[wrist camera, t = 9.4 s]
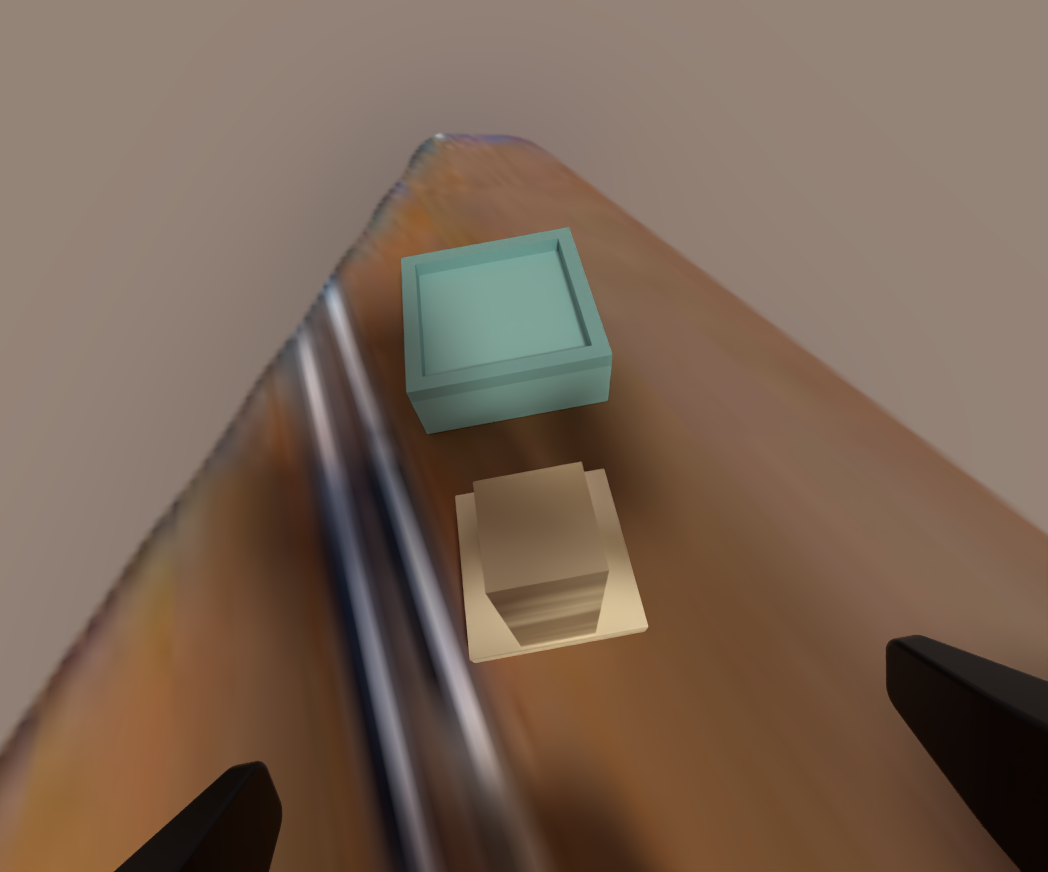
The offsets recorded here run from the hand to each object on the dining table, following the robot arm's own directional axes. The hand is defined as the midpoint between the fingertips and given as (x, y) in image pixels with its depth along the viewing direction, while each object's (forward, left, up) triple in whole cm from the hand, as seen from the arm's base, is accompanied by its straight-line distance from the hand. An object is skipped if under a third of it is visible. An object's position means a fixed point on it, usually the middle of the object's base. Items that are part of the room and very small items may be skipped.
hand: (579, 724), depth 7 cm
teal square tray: (+8, +18, -14) cm, 24 cm away
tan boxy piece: (+2, +6, -14) cm, 15 cm away
